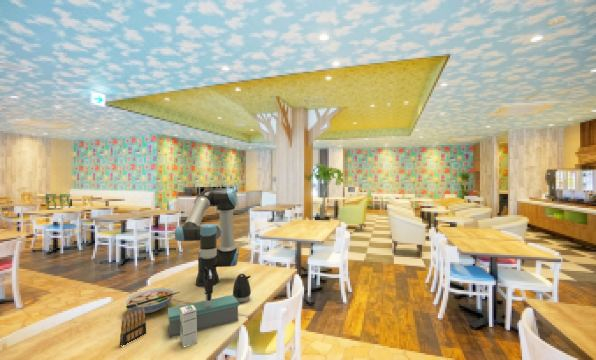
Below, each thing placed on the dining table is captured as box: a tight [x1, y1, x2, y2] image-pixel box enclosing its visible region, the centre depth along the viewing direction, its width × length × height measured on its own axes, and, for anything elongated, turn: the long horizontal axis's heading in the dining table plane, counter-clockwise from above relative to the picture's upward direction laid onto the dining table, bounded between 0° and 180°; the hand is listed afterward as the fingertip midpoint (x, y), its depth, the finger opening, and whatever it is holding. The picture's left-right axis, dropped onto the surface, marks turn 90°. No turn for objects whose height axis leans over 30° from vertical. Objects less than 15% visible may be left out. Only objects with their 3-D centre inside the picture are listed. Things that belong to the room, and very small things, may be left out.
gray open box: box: [168, 306, 239, 338], centre depth 129 cm, size 12×30×7 cm, turn 118°
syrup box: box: [179, 305, 198, 348], centre depth 113 cm, size 6×6×14 cm
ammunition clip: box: [119, 308, 147, 346], centre depth 116 cm, size 11×2×12 cm, turn 157°
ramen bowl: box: [125, 287, 180, 314], centre depth 142 cm, size 25×23×8 cm
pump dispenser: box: [232, 273, 252, 303], centre depth 153 cm, size 10×10×15 cm
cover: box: [167, 294, 240, 322], centre depth 129 cm, size 13×31×2 cm, turn 118°
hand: (208, 306), depth 128 cm, fingers closed
